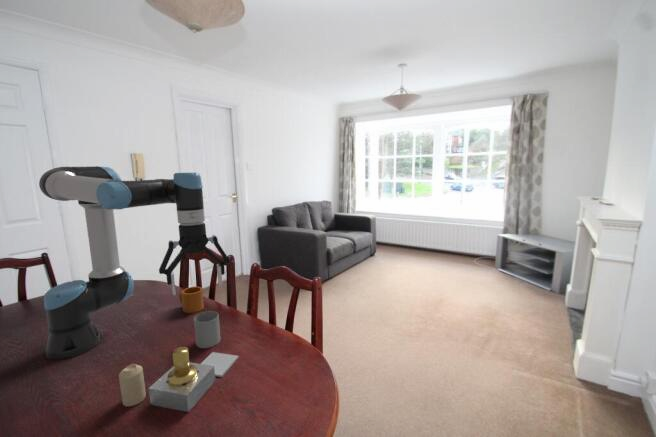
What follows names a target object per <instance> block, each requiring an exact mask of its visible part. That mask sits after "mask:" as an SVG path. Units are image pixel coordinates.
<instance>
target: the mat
mask: <svg viewBox="0 0 656 437" xmlns="http://www.w3.org/2000/svg"><path fill="white" fill-rule="evenodd" d="M238 359H239V355H234V354H228V353H221V352H215V351H212V352H211V353H210V354H209V355H208V356H207V357H206V358H205V359H204V360H203V361H202V362H200V364H203V365H210V366H214V371H215V377H219V378H223V377H224V375H225V374H226V373H227V372H228V371H229V370H230V369H231V367H232V366H233V365H234V364H235V362H236V361H237V360H238Z"/></svg>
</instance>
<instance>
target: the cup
mask: <svg viewBox="0 0 656 437" xmlns="http://www.w3.org/2000/svg"><path fill="white" fill-rule="evenodd" d="M219 316H220V315H219V313H218V312H217V311H214V310H212V311H211V310H208V311H203V312H200V313H198V314H196V315H195V316H194V318H193V323H194V324H193V326H194V335H195V336H194V337H195V346H196V347H197V348H200V349H208V348H213V347H215V346H217V345H218V344H219V343H220V342H221V330H220V317H219Z"/></svg>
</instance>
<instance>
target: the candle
mask: <svg viewBox="0 0 656 437" xmlns="http://www.w3.org/2000/svg"><path fill="white" fill-rule="evenodd" d="M144 377H145V376H144V369H143V366H141V365H139V364H135V362H134V363H130V364H129V365H128V366H126V367H125V368H123V369H122V370H121V371H119V374H118V380H119V381H118V382H119V388H120V393H121V394H120V396H121V401H122V405H123V406H124V407H128V408H129V407H133V406H136V405H138V404H140V403H142V402H143V401H144V400H145V399H146V396H147V395H146V394H147V393H146V392H147V391H146V384H145V378H144Z"/></svg>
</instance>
